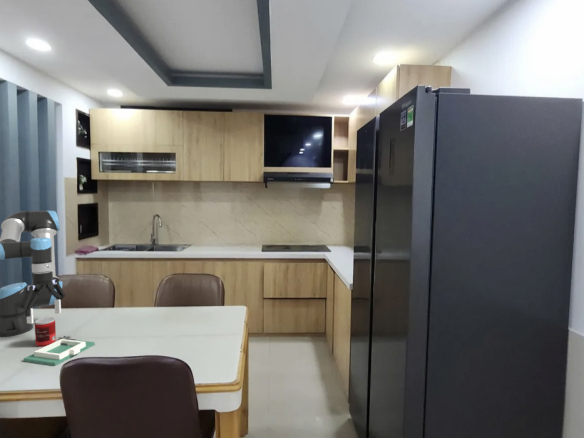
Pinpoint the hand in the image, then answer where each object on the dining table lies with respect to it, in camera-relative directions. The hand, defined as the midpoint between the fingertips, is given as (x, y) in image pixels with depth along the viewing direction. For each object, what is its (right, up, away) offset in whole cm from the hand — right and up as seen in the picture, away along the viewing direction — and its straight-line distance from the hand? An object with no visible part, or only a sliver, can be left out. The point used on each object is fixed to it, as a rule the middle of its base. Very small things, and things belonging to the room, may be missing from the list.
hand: (44, 318), depth 157 cm
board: (+14, -13, -8) cm, 20 cm away
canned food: (0, -12, +1) cm, 12 cm away
